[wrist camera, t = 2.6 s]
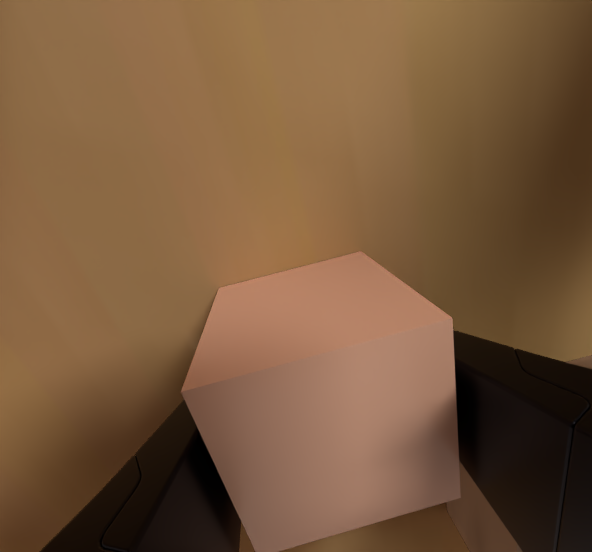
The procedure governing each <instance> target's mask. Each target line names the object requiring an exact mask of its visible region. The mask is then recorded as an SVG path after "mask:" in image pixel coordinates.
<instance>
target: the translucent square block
mask: <svg viewBox="0 0 592 552" xmlns="http://www.w3.org/2000/svg"><path fill="white" fill-rule="evenodd" d="M566 363H570V364H574V365H578V366H582V367H587V368H591V369H592V355H590V356H586V357H582V358H579V359H575V360H572V361H568V362H566ZM459 471H460V493H461V498H458V499H455V500H452V501H448V502H446V503H447V512H448V513H449V515H450V517H451V519H452V521H453V522H454V524H455V526H456V528H457V530H458V531H459V533H460V535H461V537H462V538H463V540H464V542H465V544H466V546H467V547H468V549H469V551H470V552H523V551H522V550H521V549H520V547H519V546H518V544H517V543H516V541H515V540H514V539H513V537H512V536H511V534H510V533H509V531H508V530H507V528H506V527H505V526H504V524H503V523H502V521H501V520H500V518H499V517H498V516H497V514H496V513H495V511H494V510H493V508H492V507H491V505H490V504H489V503H488V501H487V500H486V498H485V497H484V495H483V494H482V493H481V491H480V490H479V488H478V487H477V485H476V484H475V483H474V481H473V480H472V478H471V477H470V475H469V474H468V472H467V471H466V470H465V468H464V467H463V465H462V464H461V462H460V461H459Z"/></svg>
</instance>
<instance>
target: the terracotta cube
mask: <svg viewBox="0 0 592 552" xmlns="http://www.w3.org/2000/svg"><path fill="white" fill-rule="evenodd" d="M181 393H182V395H183V398H184V400H185V402H186V404H187V406H188V408H189V410H190V413H191V415H192V417H193V419H194V421H195V423H196V425H197V428H198V430H199V432H200V434H201V436H202V438H203V440H204V443H205V445H206V447H207V449H208V451H209V453H210V455H211V458H212V460H213V462H214V464H215V466H216V468H217V470H218V473H219V475H220V477H221V479H222V481H223V483H224V485H225V488H226V490H227V492H228V494H229V496H230V498H231V500H232V503H233V505H234V507H235V509H236V511H237V513H238V515H239V518H240V520H241V522H242V524H243V526H244V528H245V530H246V533H247V535H248V537H249V539H250V541H251V543H252V545H253V548H254V550H255V552H279V551H282V550H286V549H289V548H292V547H296V546H299V545H303V544H306V543H309V542H313V541H316V540H320V539H323V538H326V537H330V536H333V535H337V534H340V533H343V532H347V531H350V530H353V529H357V528H360V527H364V526H367V525H370V524H374V523H377V522H381V521H384V520H387V519H391V518H394V517H397V516H401V515H404V514H408V513H411V512H414V511H418V510H421V509H425V508H428V507H431V506H435V505H438V504H441V503H445V502H448V501H452V500H455V499H458V498H461V493H460V471H459V449H458V427H457V405H456V383H455V361H454V339H453V318H452V317H450V316H449V315H448V314H446V313H445V312H444V311H442V310H441V309H439V308H438V307H437V306H435V305H434V304H433V303H431V302H430V301H428V300H427V299H426V298H424V297H423V296H422V295H420V294H419V293H418V292H416V291H415V290H413V289H412V288H411V287H409V286H408V285H407V284H405V283H404V282H403V281H401V280H400V279H398V278H397V277H396V276H394V275H393V274H392V273H390V272H389V271H387V270H386V269H385V268H383V267H382V266H381V265H379V264H378V263H377V262H375V261H374V260H372V259H371V258H370V257H368V256H367V255H366V254H364V253H363V252H361V251H360V252H356V253H352V254H348V255H344V256H340V257H337V258H333V259H329V260H325V261H321V262H317V263H313V264H310V265H306V266H302V267H298V268H294V269H290V270H286V271H283V272H279V273H275V274H271V275H267V276H263V277H259V278H256V279H252V280H248V281H244V282H240V283H236V284H233V285H229V286H225V287H221V288H219V289H218V292H217V294H216V297H215V300H214V303H213V305H212V308H211V311H210V314H209V316H208V319H207V322H206V324H205V327H204V330H203V333H202V335H201V338H200V341H199V344H198V346H197V349H196V352H195V355H194V357H193V360H192V363H191V365H190V368H189V371H188V374H187V376H186V379H185V382H184V385H183V387H182V390H181Z"/></svg>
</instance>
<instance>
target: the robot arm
mask: <svg viewBox="0 0 592 552" xmlns="http://www.w3.org/2000/svg"><path fill="white" fill-rule="evenodd" d="M453 339H454V361H455V383H456V405H457V427H458V449H459V461H460V462H461V464H462V465H463V467H464V468H465V470H466V471H467V472H468V474H469V475H470V477H471V478H472V480H473V481H474V483H475V484H476V485H477V487H478V488H479V490H480V491H481V493H482V494H483V495H484V497H485V498H486V500H487V501H488V503H489V504H490V505H491V507H492V508H493V510H494V511H495V513H496V514H497V516H498V517H499V518H500V520H501V521H502V523H503V524H504V526H505V527H506V528H507V530H508V531H509V533H510V534H511V536H512V537H513V539H514V540H515V541H516V543H517V544H518V546H519V547H520V549H521V550H522V551H523V552H592V369H591V368H587V367H582V366H578V365H574V364H570V363H566V362H562V361H559V360H555V359H551V358H548V357H544V356H540V355H537V354H533V353H530V352H527V351H523V350H520V349H515V350H514V348H513V347H509V346H506V345H502V344H499V343H496V342H492V341H489V340H485V339H482V338H479V337H475V336H472V335H468V334H465V333H461V332H458V331H455V330H453ZM240 528H241V520H240V518H239V515H238V513H237V511H236V509H235V507H234V505H233V503H232V500H231V498H230V496H229V494H228V492H227V490H226V488H225V485H224V483H223V481H222V479H221V477H220V475H219V473H218V470H217V468H216V466H215V464H214V462H213V460H212V458H211V455H210V453H209V451H208V449H207V447H206V445H205V443H204V440H203V438H202V436H201V434H200V432H199V430H198V428H197V425H196V423H195V421H194V419H193V417H192V415H191V413H190V410H189V408H188V406H187V404H186V402H185V400H183V401H182V403H181V404H180V405H179V406H178V407H177V408H176V409H175V410H174V411H173V412H172V414H171V415H170V416H169V417H168V418H167V419H166V420H165V421H164V422H163V423H162V425H161V426H160V427H159V428H158V429H157V430H156V431H155V432H154V433H153V434H152V436H151V437H150V438H149V439H148V440H147V441H146V442H145V443H144V444H143V445H142V447H141V448H140V449H139V450H138V451H137V452H136V456H132V457H131V459H130V460H129V461H128V462H127V463H126V464H125V465H124V466H123V467H122V468H121V470H120V471H119V472H118V473H117V474H116V475H115V476H114V477H113V478H112V479H111V480H110V481H109V482H108V483H107V484H106V486H105V487H104V488H103V489H102V490H101V491H100V492H99V493H98V494H97V495H96V496H95V497H94V498H93V499H92V500H91V501H90V502H89V503H88V504H87V505H86V506H85V507H84V508H83V509H82V510H81V511H80V512H79V513H78V514H77V515H76V516H75V517H74V518H73V519H72V520H71V521H70V522H69V523H68V524H67V525H66V526H65V527H64V528H63V529H62V530H61V531H60V532H59V533H58V534H57V535H56V536H55V537H54V538H53V539H52V540H51V541H50V542H49V543H48V544H47V545H46V546H45V547H44V548H43V549H42V550H41V551H40V552H239V544H240Z"/></svg>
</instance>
